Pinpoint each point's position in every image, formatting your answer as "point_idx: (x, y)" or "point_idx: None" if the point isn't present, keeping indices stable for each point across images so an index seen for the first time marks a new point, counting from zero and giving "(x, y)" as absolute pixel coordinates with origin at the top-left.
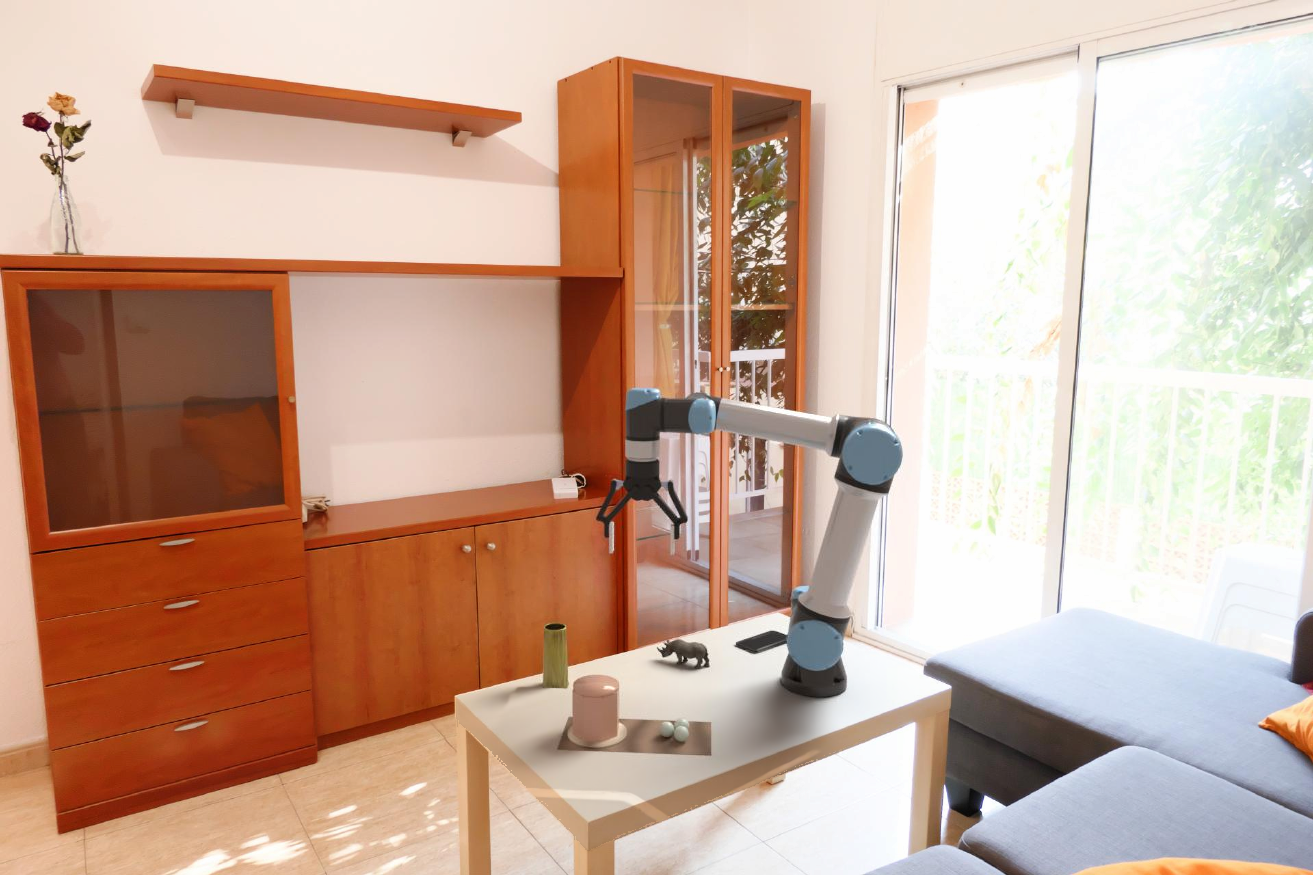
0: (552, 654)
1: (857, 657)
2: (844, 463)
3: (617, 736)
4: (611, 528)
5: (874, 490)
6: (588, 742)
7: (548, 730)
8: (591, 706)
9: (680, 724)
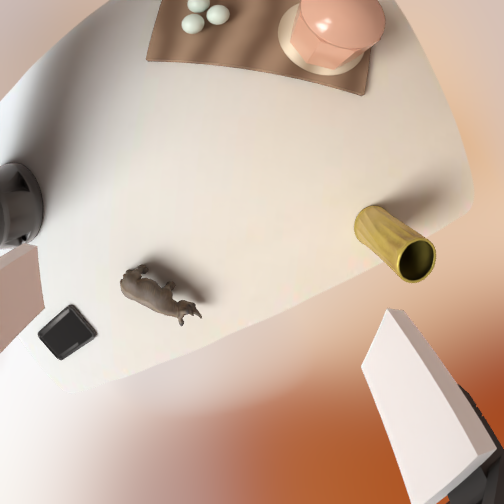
0: (403, 224)
1: None
2: None
3: (293, 18)
4: (469, 427)
5: None
6: None
7: (387, 79)
8: None
9: (195, 14)
